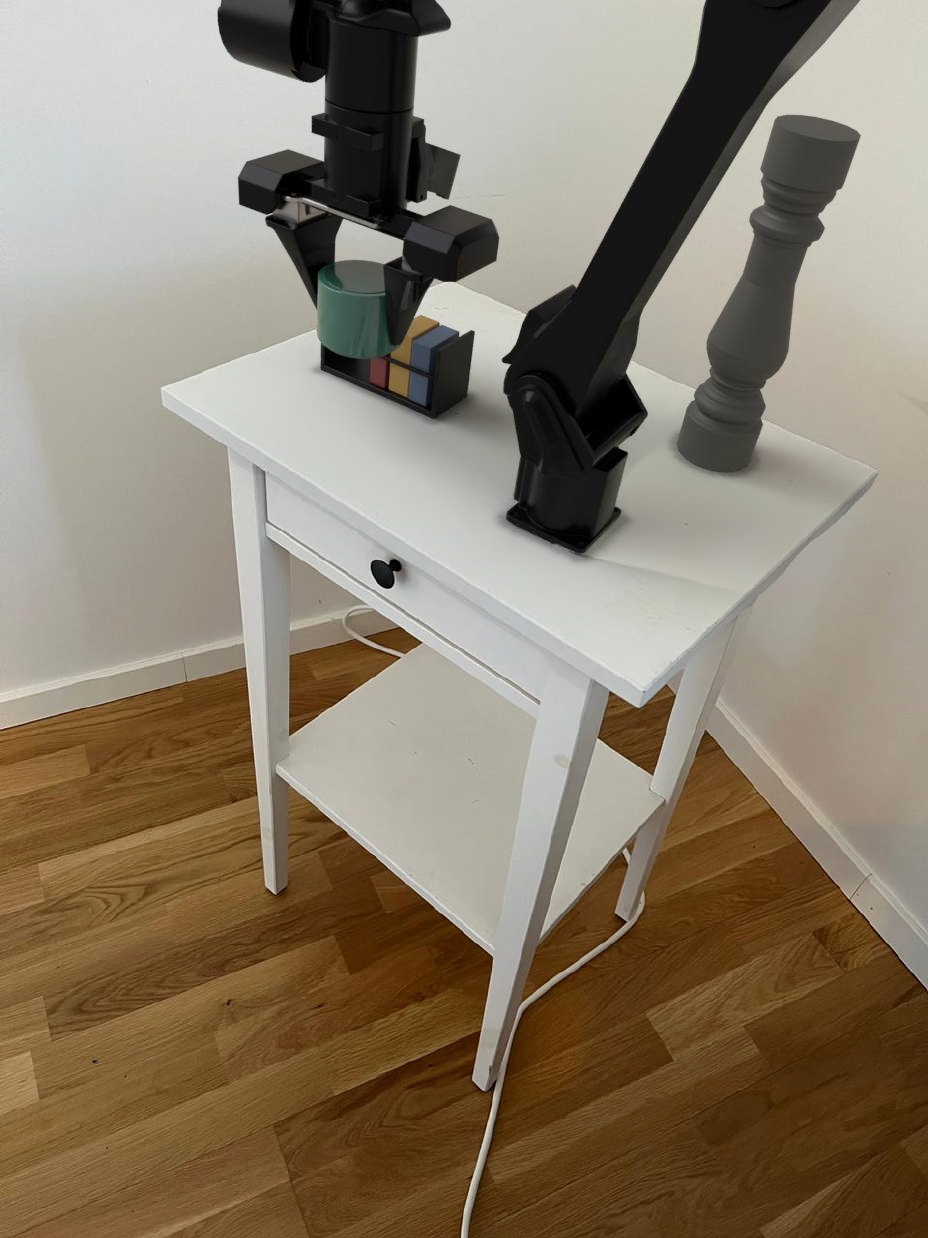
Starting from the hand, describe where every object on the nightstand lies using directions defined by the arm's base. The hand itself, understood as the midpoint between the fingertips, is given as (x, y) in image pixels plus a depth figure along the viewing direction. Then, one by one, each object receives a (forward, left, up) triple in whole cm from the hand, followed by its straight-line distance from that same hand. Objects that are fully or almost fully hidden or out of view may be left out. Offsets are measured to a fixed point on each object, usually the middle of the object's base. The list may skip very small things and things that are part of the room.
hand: (360, 328), depth 73 cm
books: (0, -8, -8) cm, 11 cm away
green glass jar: (0, 0, -1) cm, 1 cm away
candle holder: (-24, -17, -8) cm, 31 cm away
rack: (+2, -7, -8) cm, 11 cm away
